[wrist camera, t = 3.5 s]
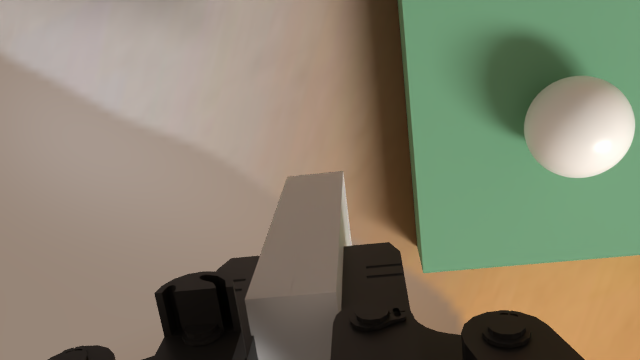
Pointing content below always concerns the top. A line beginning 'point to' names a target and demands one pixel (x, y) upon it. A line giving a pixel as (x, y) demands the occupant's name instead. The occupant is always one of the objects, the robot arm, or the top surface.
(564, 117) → the golf ball
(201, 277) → the robot arm
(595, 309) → the top surface
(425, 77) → the putting board
